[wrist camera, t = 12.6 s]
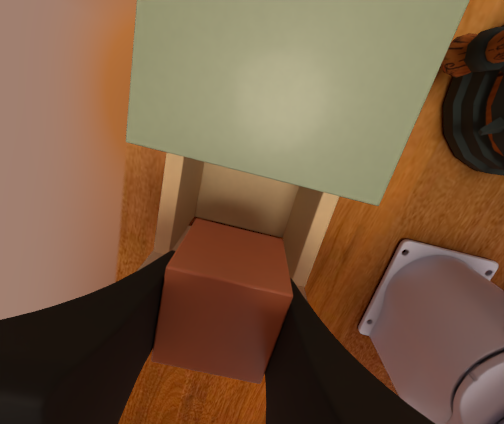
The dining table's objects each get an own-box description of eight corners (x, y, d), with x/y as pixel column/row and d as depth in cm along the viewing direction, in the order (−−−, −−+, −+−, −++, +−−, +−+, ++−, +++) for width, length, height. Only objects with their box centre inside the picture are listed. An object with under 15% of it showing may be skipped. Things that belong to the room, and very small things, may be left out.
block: (260, 308, 13) (261, 385, 9) (181, 290, 13) (150, 362, 9) (283, 238, 12) (294, 295, 8) (195, 217, 12) (165, 266, 8)
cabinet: (329, 168, 19) (379, 206, 11) (184, 130, 18) (124, 142, 10) (422, -97, 14) (640, -383, 6) (228, -159, 14) (180, -566, 5)
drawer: (274, 311, 22) (279, 389, 16) (165, 286, 22) (126, 356, 16) (354, 79, 16) (415, 55, 10) (205, 37, 16) (166, -16, 9)
